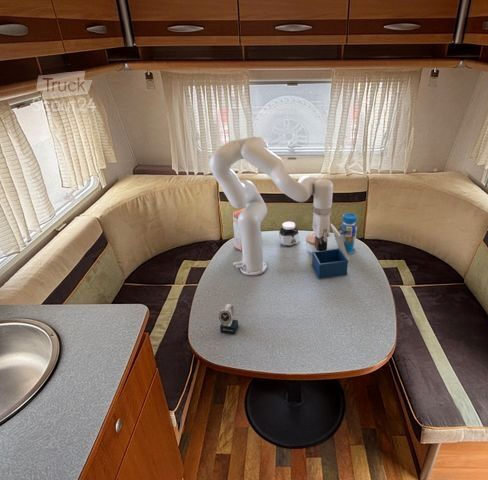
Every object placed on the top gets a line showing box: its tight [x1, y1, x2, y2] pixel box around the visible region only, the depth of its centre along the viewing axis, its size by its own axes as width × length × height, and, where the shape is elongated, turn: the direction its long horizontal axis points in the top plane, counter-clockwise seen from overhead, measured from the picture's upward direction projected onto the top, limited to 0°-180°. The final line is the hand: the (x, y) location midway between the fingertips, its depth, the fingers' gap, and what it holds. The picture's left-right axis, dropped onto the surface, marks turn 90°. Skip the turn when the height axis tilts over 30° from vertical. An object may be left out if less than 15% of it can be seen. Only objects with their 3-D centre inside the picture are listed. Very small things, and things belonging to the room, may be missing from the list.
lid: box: [330, 223, 350, 261], centre depth 164 cm, size 14×12×5 cm
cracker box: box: [232, 206, 246, 252], centre depth 187 cm, size 14×6×21 cm, turn 136°
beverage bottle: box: [339, 212, 358, 255], centre depth 181 cm, size 8×8×20 cm
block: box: [315, 237, 328, 251], centre depth 155 cm, size 4×4×4 cm
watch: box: [218, 303, 239, 335], centre depth 133 cm, size 6×8×11 cm
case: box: [311, 247, 349, 280], centre depth 169 cm, size 14×12×8 cm
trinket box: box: [305, 232, 323, 254], centre depth 183 cm, size 11×11×9 cm
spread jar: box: [278, 221, 300, 248], centre depth 192 cm, size 12×11×12 cm
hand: (320, 247), depth 156 cm, fingers closed on block, 4 cm apart
